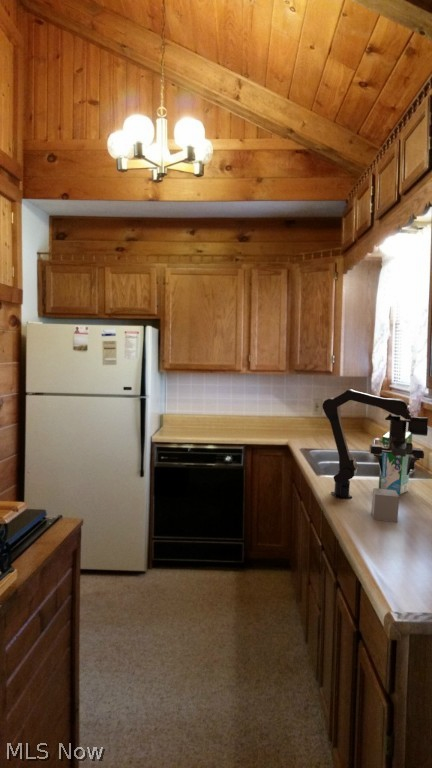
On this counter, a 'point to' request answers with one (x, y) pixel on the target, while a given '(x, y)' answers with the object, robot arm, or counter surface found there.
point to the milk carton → (394, 468)
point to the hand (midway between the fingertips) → (394, 473)
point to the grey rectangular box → (385, 505)
